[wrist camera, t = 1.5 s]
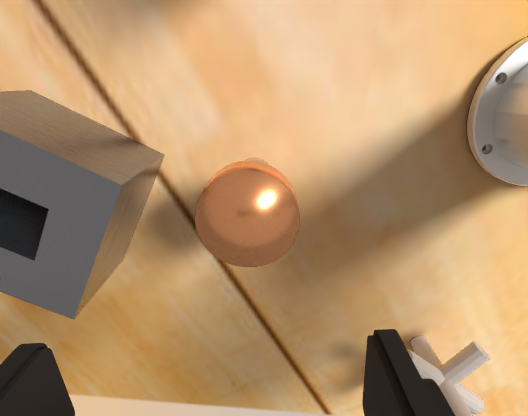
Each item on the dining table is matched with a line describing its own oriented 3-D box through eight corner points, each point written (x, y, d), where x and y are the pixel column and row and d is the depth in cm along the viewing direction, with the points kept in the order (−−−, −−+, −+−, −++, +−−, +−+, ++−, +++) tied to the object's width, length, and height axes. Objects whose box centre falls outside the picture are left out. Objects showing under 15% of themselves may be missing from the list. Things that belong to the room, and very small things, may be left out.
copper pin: (302, 160, 29) (319, 200, 19) (269, 218, 31) (269, 281, 21) (237, 126, 28) (220, 151, 18) (208, 189, 30) (179, 241, 20)
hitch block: (164, 155, 29) (121, 185, 21) (123, 258, 33) (73, 319, 25) (30, 90, 27) (-77, 94, 19) (4, 208, 31) (-94, 255, 23)
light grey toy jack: (416, 387, 39) (463, 484, 30) (355, 348, 37) (384, 439, 27) (484, 336, 36) (559, 425, 26) (420, 290, 34) (478, 369, 24)
